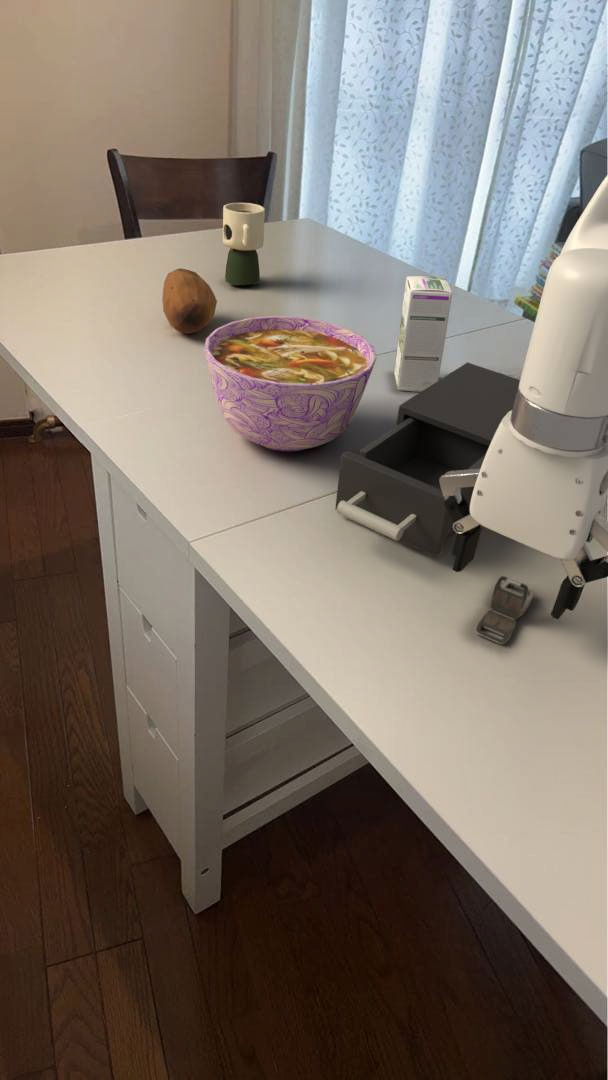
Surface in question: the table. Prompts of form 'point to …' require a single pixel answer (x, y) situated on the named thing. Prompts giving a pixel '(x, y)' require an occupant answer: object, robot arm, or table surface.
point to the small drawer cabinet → (465, 402)
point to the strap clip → (505, 609)
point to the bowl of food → (288, 379)
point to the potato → (187, 301)
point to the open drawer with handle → (406, 482)
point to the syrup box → (422, 332)
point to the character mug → (243, 241)
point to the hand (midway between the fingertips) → (510, 587)
